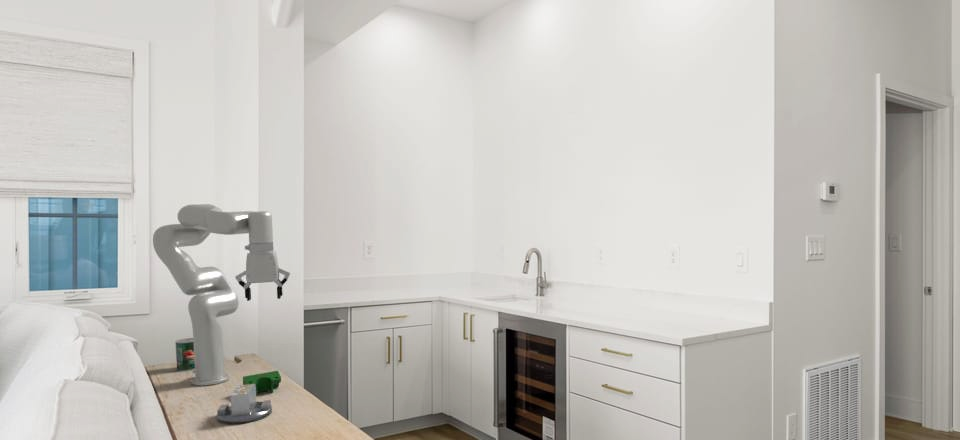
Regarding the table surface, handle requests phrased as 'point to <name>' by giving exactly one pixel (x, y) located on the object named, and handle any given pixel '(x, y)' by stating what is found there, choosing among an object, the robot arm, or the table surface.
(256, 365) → the table surface
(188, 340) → the canned tomato
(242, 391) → the striped grey block
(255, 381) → the clamp
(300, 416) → the table surface
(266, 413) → the shallow grey dish
